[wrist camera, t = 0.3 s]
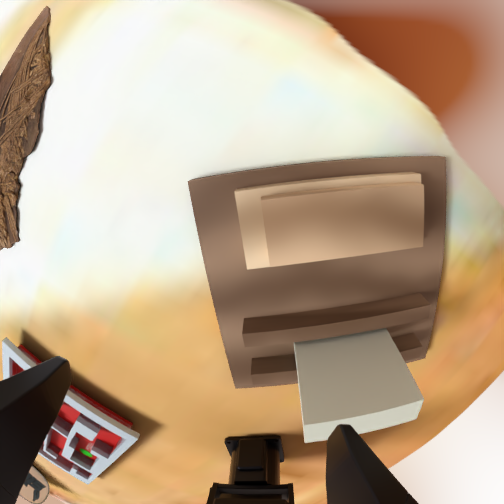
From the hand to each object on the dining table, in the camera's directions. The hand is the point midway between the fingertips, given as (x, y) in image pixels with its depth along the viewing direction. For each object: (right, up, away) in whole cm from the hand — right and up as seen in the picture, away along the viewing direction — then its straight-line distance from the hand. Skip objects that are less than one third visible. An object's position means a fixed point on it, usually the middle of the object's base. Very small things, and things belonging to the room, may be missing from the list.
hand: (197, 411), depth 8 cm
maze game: (-29, -23, +25) cm, 45 cm away
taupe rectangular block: (+8, -2, +14) cm, 16 cm away
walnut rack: (+8, +2, +14) cm, 16 cm away
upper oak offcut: (+7, +7, +10) cm, 14 cm away
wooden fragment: (-21, +16, +10) cm, 29 cm away
